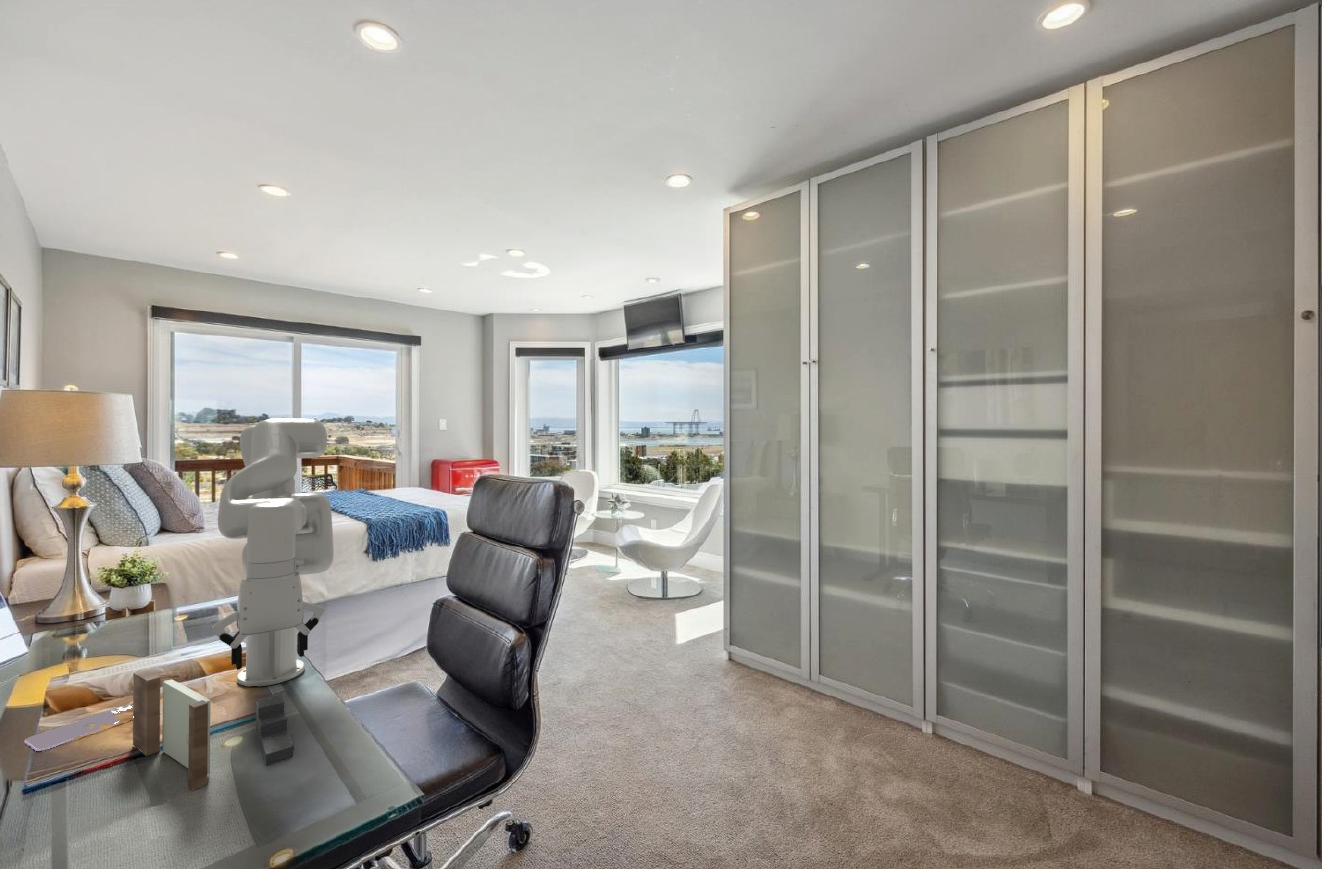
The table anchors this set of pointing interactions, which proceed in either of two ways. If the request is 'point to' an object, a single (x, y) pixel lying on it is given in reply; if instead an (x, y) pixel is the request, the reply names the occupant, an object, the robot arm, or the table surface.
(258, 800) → the table surface
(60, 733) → the mobile phone
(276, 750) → the dark gray beam
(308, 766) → the table surface
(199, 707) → the wooden posts
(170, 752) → the door
